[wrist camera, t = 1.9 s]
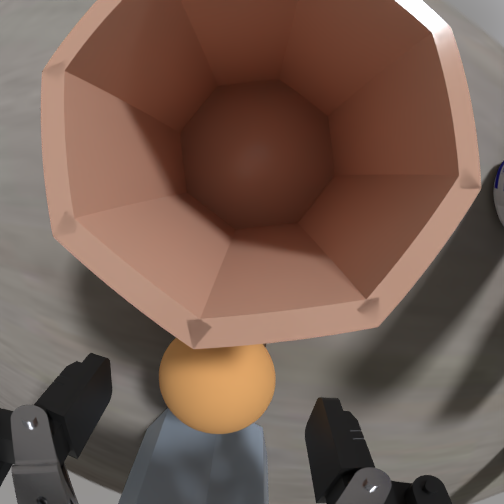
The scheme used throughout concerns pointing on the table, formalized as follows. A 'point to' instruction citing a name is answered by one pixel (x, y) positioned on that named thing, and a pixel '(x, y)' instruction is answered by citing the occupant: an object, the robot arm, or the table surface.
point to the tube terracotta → (258, 159)
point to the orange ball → (217, 385)
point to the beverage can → (499, 193)
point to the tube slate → (198, 466)
